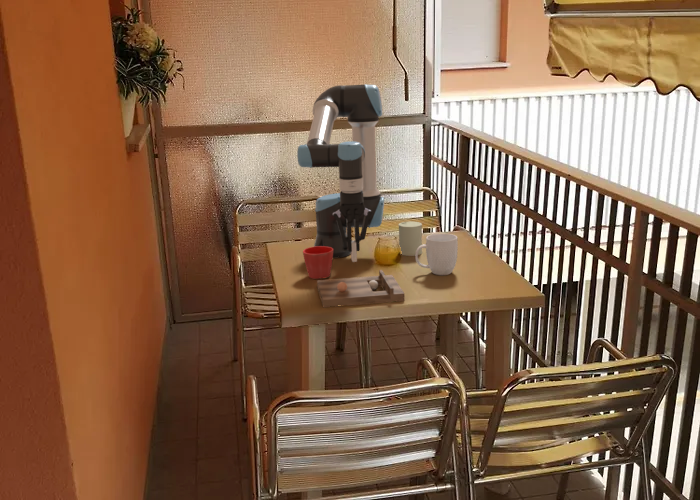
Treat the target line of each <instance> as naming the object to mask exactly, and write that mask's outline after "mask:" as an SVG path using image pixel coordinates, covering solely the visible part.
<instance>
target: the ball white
mask: <svg viewBox="0 0 700 500" xmlns="http://www.w3.org/2000/svg"><path fill="white" fill-rule="evenodd" d="M369 285H370V287H371V289H372V291H375V290H377V289H378V283H377V281H375V280H372V281H370V282H369Z"/></svg>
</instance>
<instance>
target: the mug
mask: <svg viewBox="0 0 700 500" xmlns="http://www.w3.org/2000/svg"><path fill="white" fill-rule="evenodd" d="M458 245H459V244H458V236H457V235H455V234H452V233H444V232H443V233H431V234H428V235H427V236H426V237H425V244H424V243H422V245H421V246H419V247H418V248H417V250H416V254H415V256H414V257H415V262H416V264H417V265H418V266H419V267H421V268H424V269H430V271H431V273H432V274H434V275H436V276H449V275H451V273H452V272H453V270H454V269H455V267H456V263H457V262H458V261H457V259H458V249H459V248H458ZM421 248H422V249H425V253H426V261H427V264H424V263H421V262H420V259H419V255H418V252H419V250H420V249H421Z"/></svg>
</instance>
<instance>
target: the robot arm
mask: <svg viewBox="0 0 700 500" xmlns="http://www.w3.org/2000/svg"><path fill="white" fill-rule="evenodd" d="M312 115H313V117H312V122H311V126H310V129H309V133H308V137H307V141H306V143H305V144H300V145H299V146H298V147H297V155H296V156H297V164H298V165H299V167H300V168H309V169H311V168H338V171H339V172H338V177H339V179H338V182H339V183H338V184H339V192H338V193H330V194H325V195H322V196H320V197H318V198H317V199H316V201H315V209H314V211H315V220H316V221H315V223H316V236H315V241H314V245H313V247H316V246H326V247H331V248H333V259H338V258H344V257H347V256H349V255H351V257H350V260H351V262H352V263H355V262H356V263H357V262H358V254H357V252H360V248H361V247H360V242H361V241H364V240H366V235H367V230H368V229H371V228H379V227H380V226H381V225H382V222H383V218H384V217H383V216H384V207H385V197H384V196H382V195H381V191H380V190H379V189H378V188H377V165H376V163H377V161H376V157H377V156H376V154H377V153H376V125H377V123H379V120H380V118H379V117H382V116H383V105H382V97H381V94H380V89H379V87H378V86H377V85H376V84H366V83H365V84H349V85H347V84H346V85H342V84H341V85H334V86H332V87H329V88H327V89H326V90H325V91H323V92H322V93H321V94H320V95H319V96H318V97H317V98H316V100H315V101H314V104H313V106H312ZM337 118H347V123H348V124H349V125H350V126H351V130H352V132H351V134H352V135H351V136H352V141H343V142H340V143H334V144H333V143H331V144H330V142H331V138H332V132H333V130H334V129H333V128H334V123H335V121H336V120H337ZM352 228H353V229H354V239H353V238H352V237H353V235H352ZM360 228H361V231H360ZM352 239H353V240H352Z"/></svg>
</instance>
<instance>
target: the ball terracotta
mask: <svg viewBox="0 0 700 500" xmlns="http://www.w3.org/2000/svg"><path fill="white" fill-rule="evenodd" d="M337 288H338V290H339V291H340V292H344V291H346V289H347V284H346V283H345V282H340V283H339V284H338V286H337Z"/></svg>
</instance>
